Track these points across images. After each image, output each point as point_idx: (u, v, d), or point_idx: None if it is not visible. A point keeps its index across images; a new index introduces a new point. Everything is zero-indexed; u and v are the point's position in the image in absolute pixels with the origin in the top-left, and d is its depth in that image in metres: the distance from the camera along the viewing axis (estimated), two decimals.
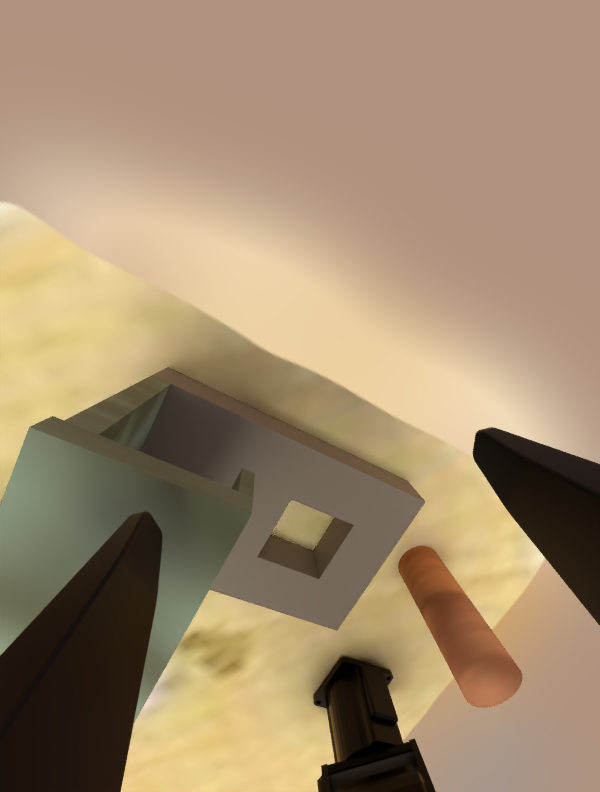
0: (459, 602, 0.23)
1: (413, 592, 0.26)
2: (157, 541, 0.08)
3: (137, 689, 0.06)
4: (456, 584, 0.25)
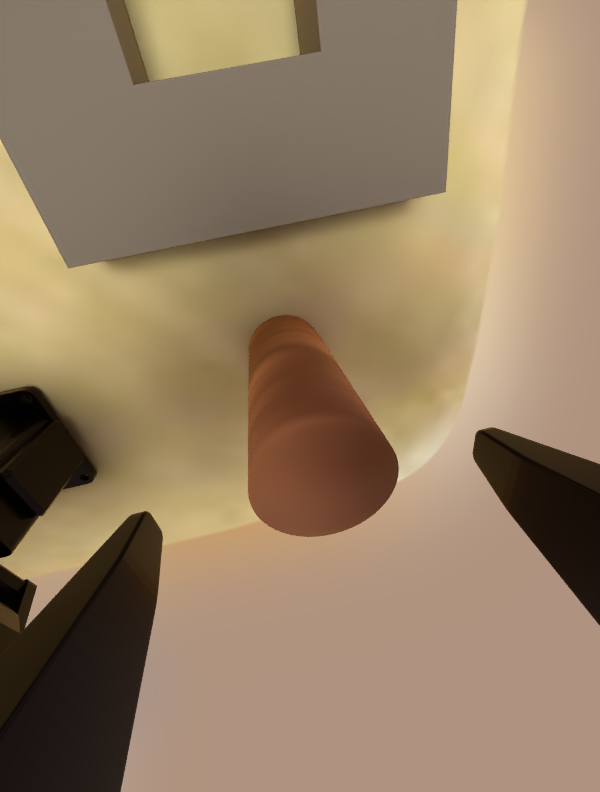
0: (344, 375, 0.11)
1: (264, 343, 0.13)
2: (157, 541, 0.08)
3: (137, 689, 0.06)
4: None
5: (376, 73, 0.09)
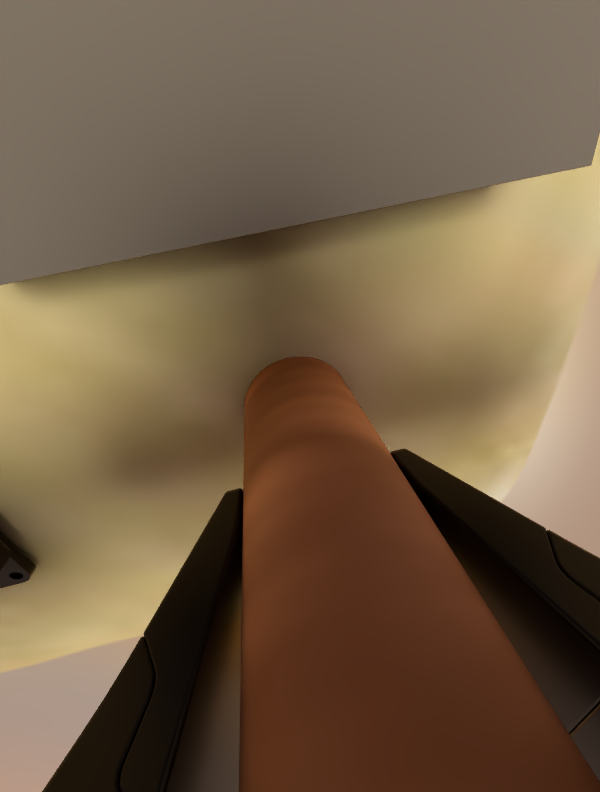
0: (415, 494, 0.06)
1: (269, 414, 0.08)
2: None
3: None
4: None
5: None
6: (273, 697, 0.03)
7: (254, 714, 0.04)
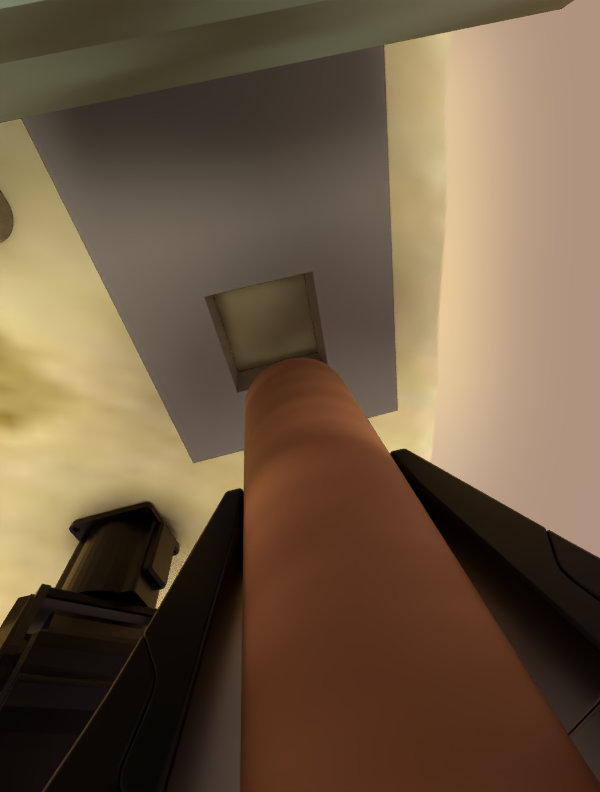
0: (415, 495, 0.06)
1: (269, 415, 0.08)
2: None
3: None
4: None
5: (356, 373, 0.18)
6: (274, 699, 0.03)
7: (255, 716, 0.04)
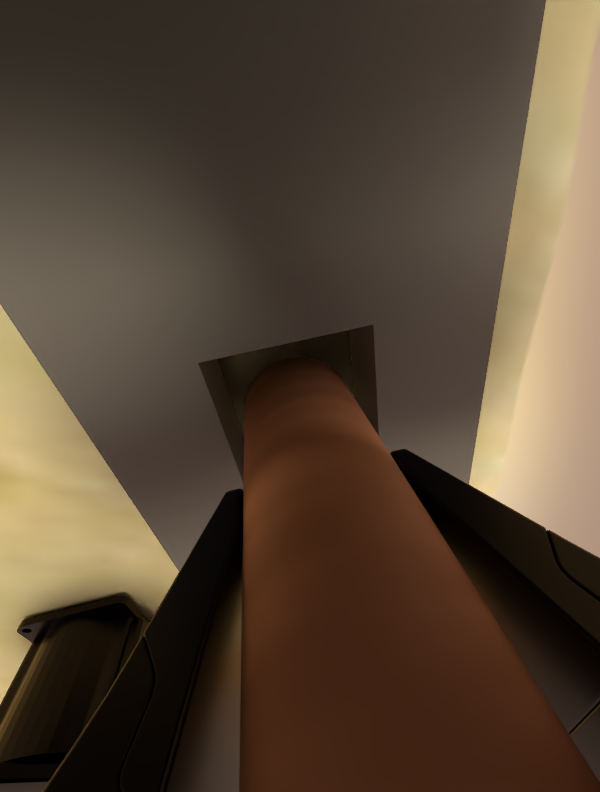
0: (415, 495, 0.06)
1: (269, 415, 0.08)
2: None
3: None
4: None
5: None
6: (273, 698, 0.03)
7: (254, 715, 0.04)
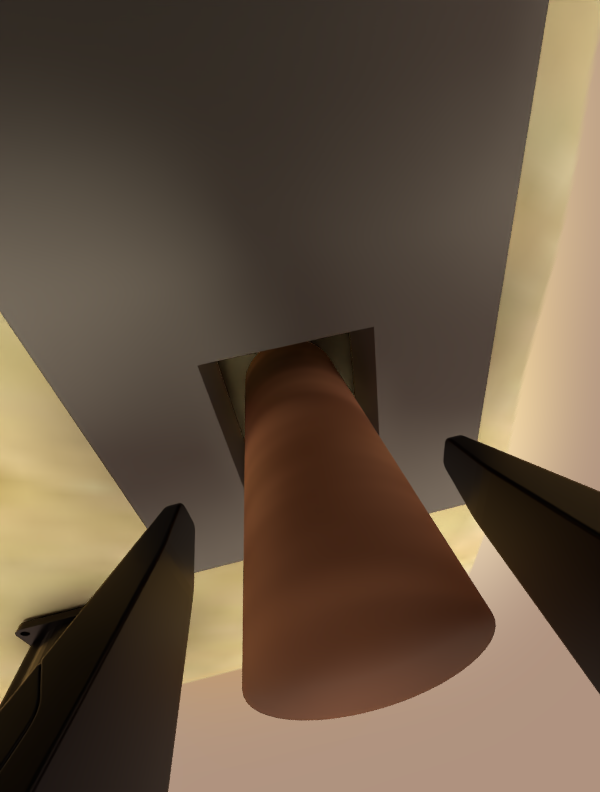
0: (379, 437, 0.08)
1: (265, 382, 0.10)
2: (191, 533, 0.08)
3: (181, 678, 0.06)
4: None
5: (419, 462, 0.13)
6: (266, 542, 0.05)
7: (253, 556, 0.05)
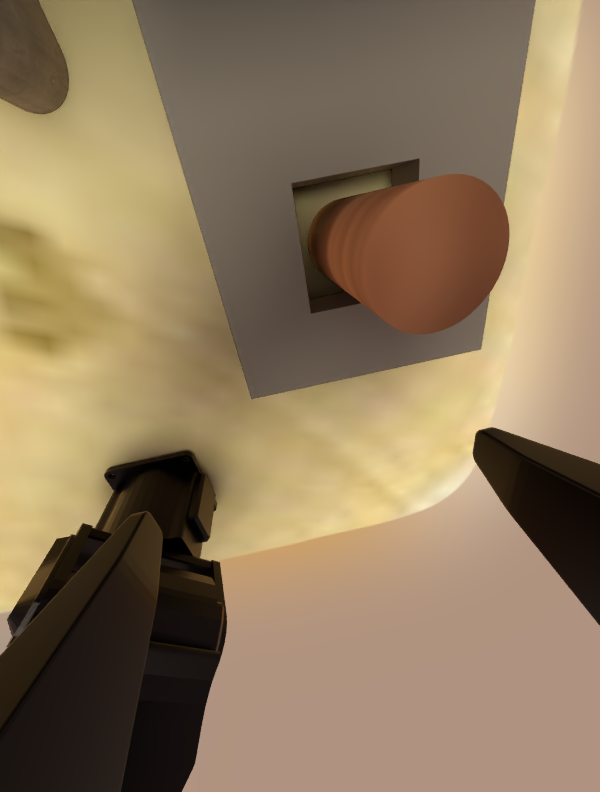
0: None
1: (337, 205, 0.13)
2: (157, 541, 0.08)
3: (137, 689, 0.06)
4: None
5: None
6: (372, 209, 0.09)
7: (363, 222, 0.09)
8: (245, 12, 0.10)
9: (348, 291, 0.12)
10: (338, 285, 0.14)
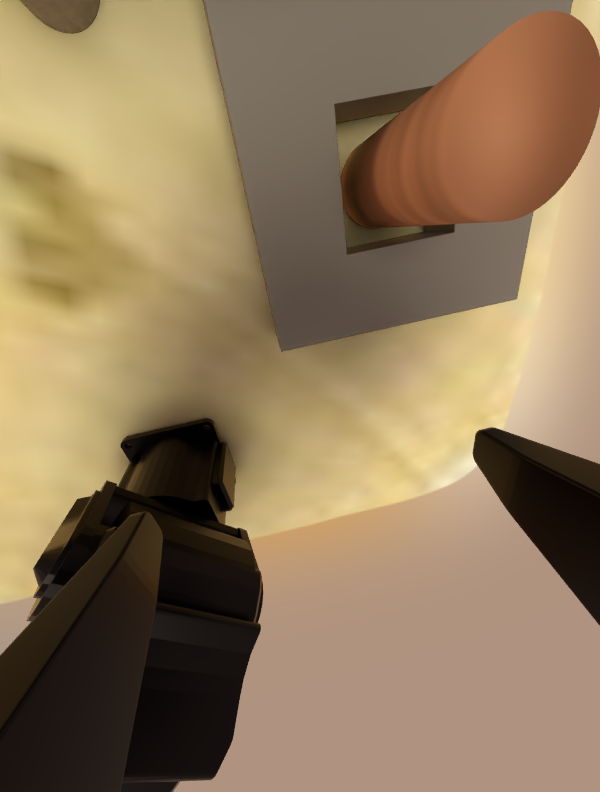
0: None
1: (379, 129, 0.13)
2: (157, 541, 0.08)
3: (138, 689, 0.06)
4: None
5: (484, 240, 0.16)
6: (446, 81, 0.08)
7: (435, 97, 0.08)
8: None
9: (401, 204, 0.11)
10: (379, 216, 0.13)
